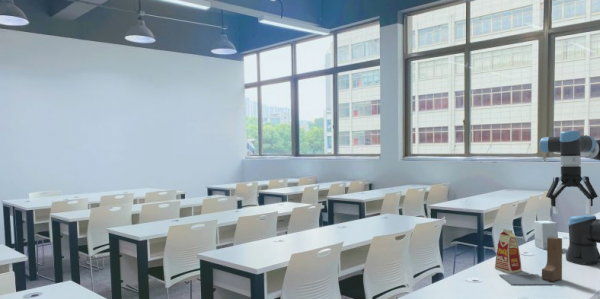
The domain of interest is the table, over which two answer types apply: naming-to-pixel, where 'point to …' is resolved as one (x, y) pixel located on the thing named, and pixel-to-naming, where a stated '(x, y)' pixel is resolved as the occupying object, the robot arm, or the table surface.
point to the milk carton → (508, 253)
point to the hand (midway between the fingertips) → (572, 213)
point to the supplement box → (544, 232)
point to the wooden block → (553, 260)
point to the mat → (524, 279)
